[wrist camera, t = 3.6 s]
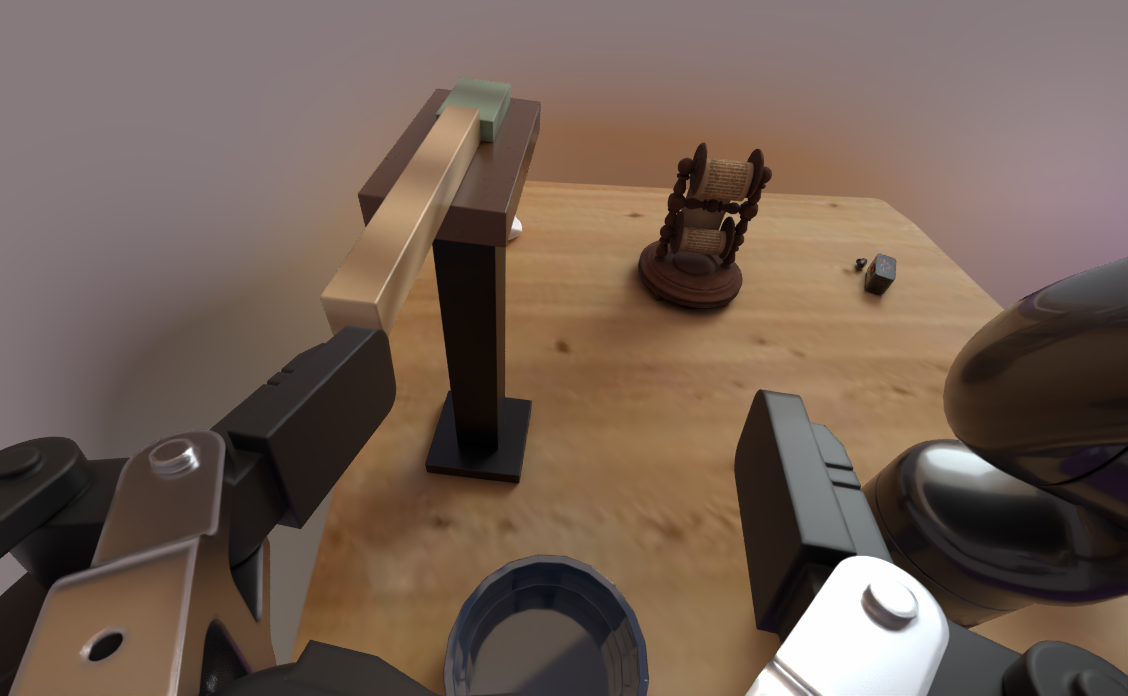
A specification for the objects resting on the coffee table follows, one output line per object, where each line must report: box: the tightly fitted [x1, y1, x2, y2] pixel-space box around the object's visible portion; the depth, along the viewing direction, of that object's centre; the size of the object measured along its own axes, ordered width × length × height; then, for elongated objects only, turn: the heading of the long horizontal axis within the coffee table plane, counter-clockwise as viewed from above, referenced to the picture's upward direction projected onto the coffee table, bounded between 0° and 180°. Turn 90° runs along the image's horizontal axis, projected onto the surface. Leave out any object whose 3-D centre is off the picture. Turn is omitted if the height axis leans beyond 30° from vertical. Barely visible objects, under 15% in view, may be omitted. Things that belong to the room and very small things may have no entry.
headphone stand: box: [358, 89, 541, 483], centre depth 39 cm, size 14×9×31 cm, turn 175°
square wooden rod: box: [320, 78, 510, 336], centre depth 23 cm, size 22×3×2 cm, turn 175°
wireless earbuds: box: [856, 254, 896, 295], centre depth 75 cm, size 5×7×3 cm, turn 153°
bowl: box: [443, 555, 649, 696], centre depth 34 cm, size 13×13×6 cm
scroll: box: [638, 143, 772, 308], centre depth 64 cm, size 15×15×20 cm
